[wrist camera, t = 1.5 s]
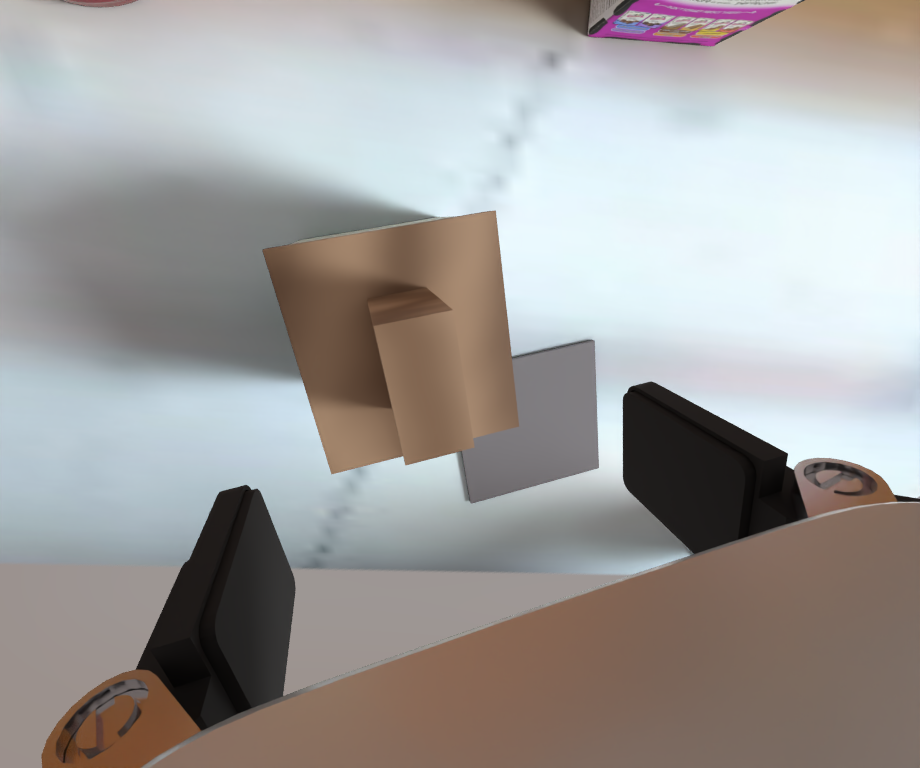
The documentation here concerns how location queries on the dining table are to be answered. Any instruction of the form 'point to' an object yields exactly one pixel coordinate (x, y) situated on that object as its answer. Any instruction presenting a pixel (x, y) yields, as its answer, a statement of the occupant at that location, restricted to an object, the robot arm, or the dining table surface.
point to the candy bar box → (679, 19)
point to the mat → (541, 425)
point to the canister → (100, 2)
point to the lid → (400, 338)
